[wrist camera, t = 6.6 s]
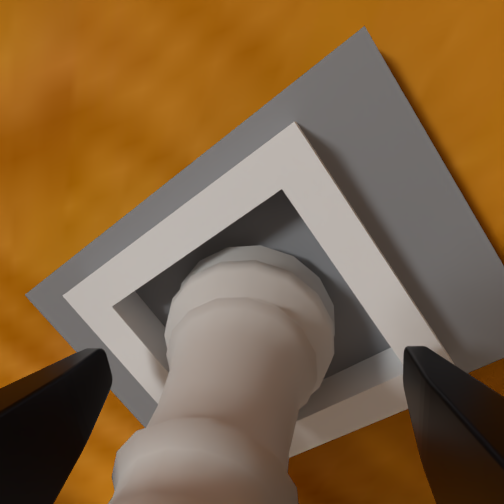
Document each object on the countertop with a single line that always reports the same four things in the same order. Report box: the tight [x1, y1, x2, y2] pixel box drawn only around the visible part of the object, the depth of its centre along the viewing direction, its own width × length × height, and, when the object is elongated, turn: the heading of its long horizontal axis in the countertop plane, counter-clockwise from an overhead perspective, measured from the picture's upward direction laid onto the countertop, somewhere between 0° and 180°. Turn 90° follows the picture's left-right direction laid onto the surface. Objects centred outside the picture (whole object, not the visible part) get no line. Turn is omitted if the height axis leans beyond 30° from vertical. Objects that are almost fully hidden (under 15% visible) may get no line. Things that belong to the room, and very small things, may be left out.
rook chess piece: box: [108, 245, 335, 504], centre depth 7 cm, size 4×4×8 cm
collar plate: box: [25, 26, 504, 458], centre depth 10 cm, size 12×9×2 cm
